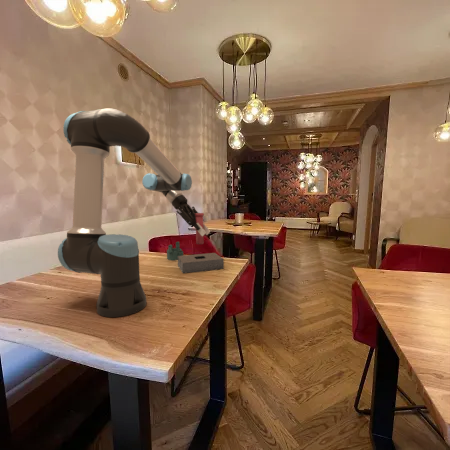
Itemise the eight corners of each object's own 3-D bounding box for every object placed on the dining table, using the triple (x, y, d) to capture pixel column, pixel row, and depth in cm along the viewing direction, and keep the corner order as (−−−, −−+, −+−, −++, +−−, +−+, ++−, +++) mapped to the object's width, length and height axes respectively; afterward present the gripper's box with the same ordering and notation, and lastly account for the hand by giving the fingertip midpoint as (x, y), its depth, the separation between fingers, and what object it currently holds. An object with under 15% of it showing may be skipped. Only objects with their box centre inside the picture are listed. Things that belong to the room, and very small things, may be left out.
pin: (196, 244, 125) (195, 213, 123) (194, 243, 129) (193, 213, 127) (205, 244, 126) (204, 213, 124) (203, 242, 130) (202, 212, 129)
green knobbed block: (169, 261, 141) (168, 245, 140) (165, 257, 149) (165, 242, 148) (185, 259, 145) (184, 244, 144) (180, 256, 153) (180, 241, 152)
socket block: (182, 273, 119) (182, 263, 119) (177, 265, 132) (177, 256, 132) (223, 269, 126) (223, 259, 125) (215, 261, 139) (214, 252, 138)
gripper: (182, 203, 139) (210, 236, 134) (162, 205, 124) (192, 241, 119) (190, 193, 136) (219, 226, 131) (171, 194, 121) (202, 231, 116)
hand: (206, 233), depth 125 cm, fingers closed on pin, 3 cm apart
